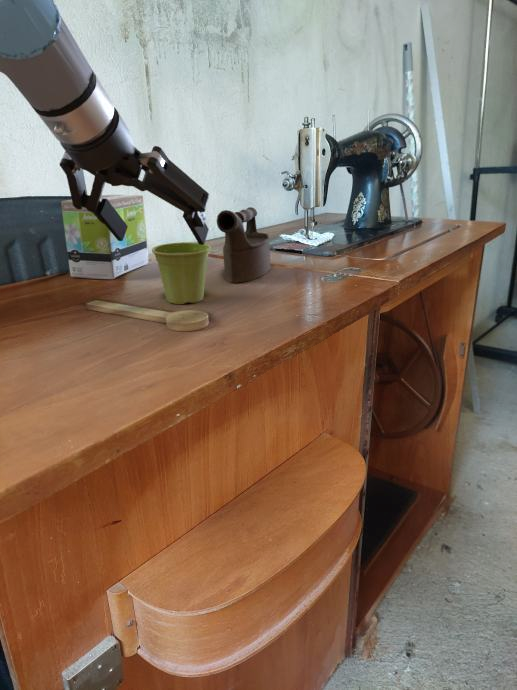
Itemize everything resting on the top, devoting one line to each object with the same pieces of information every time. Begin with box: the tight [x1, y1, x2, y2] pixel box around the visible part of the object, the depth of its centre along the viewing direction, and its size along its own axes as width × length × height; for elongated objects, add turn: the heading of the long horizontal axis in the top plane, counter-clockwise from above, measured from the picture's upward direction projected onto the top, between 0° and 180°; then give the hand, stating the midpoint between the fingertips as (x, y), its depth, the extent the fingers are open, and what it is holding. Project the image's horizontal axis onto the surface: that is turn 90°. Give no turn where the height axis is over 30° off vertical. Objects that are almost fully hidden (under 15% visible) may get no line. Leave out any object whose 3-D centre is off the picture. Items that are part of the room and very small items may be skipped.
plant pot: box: [151, 241, 212, 305], centre depth 84 cm, size 9×9×9 cm
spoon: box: [85, 299, 210, 332], centre depth 77 cm, size 22×6×1 cm, turn 61°
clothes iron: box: [216, 206, 271, 284], centre depth 97 cm, size 8×16×13 cm, turn 164°
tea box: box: [60, 194, 149, 280], centre depth 104 cm, size 15×10×15 cm
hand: (162, 235), depth 77 cm, fingers open, 13 cm apart
